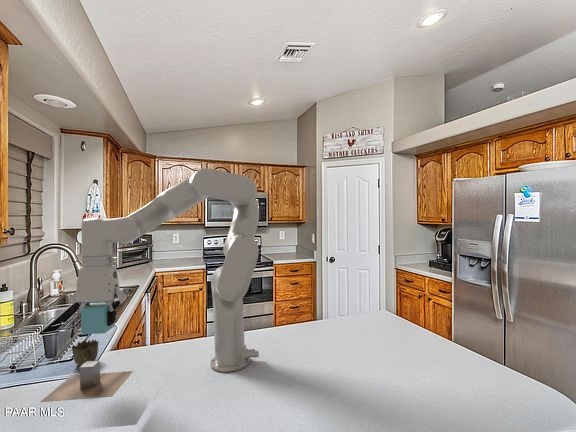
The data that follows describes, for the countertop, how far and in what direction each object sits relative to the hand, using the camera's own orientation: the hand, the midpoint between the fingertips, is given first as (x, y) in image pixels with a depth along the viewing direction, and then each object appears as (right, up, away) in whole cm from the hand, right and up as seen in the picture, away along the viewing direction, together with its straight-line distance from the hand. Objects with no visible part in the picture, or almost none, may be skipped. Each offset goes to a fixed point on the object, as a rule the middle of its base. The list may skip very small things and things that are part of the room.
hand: (98, 324), depth 93 cm
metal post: (-2, -17, -1) cm, 17 cm away
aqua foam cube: (0, -2, 0) cm, 2 cm away
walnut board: (-2, -18, -1) cm, 19 cm away
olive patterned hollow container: (-12, -19, +14) cm, 26 cm away
